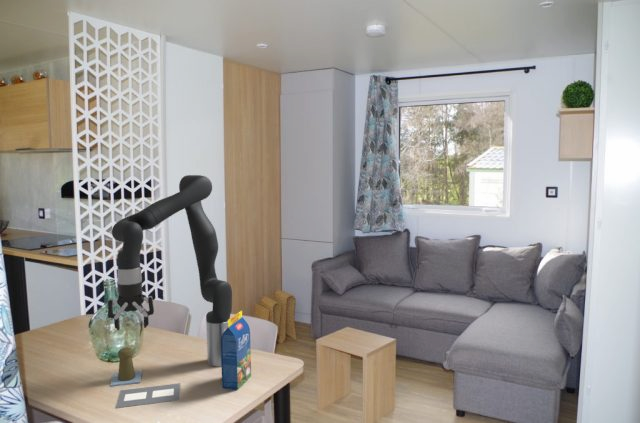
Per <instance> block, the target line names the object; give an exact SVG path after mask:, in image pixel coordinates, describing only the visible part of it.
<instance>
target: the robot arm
mask: <svg viewBox="0 0 640 423" xmlns="http://www.w3.org/2000/svg"><path fill="white" fill-rule="evenodd" d="M178 188H179V191H178V192H176V193H175V194H172V195H169V196H167V197H165V198H161V199H159V200H157V201H155V202H153V203H151V204H149V205H148V206H147V207H146V206H145V207H144V208H143V209H142V210H140V211H138V212H137V213H133V214H131V215H129V216H126V217H124V218H122V219H120V220H119V221H117V222H115V224H114V225H113V226H112V228H111V236H112V237H113V239H114V240H115V241H118V242H120V243H121V242H122V248H121V249H122V250H119V251H118V252H117V254H116V261H117V262H116V263H117V276H116V277H117V278H116V279H117V293H118V295H117V299H113V298H109V299H108V301H107V318H108V319H113V320H114V323H113V324H114V329H115V330H116V331H120V329H121V326H120V325H121V324H120V321H121V320H120V317H121V315H122V313H123V312H125V313H128V312H136V311H138V312H139V313H140V314H142V315H143V327H144V328H143V329H146V328H147V327H149V319H150V318H149V316H152V315H154V312H155V310H154V309H155V307H154V300H153V299H154V298H153V296H152V295H149V296H146V297H145V296H144V295H143V283H142V282H143V277H142V276H143V275H142V268H141V257H140V254H141V251H142V246H143V240H144V232H143V231H146V230H147V231H148V230H151V229H154V227H156V226H158V225H159V224H161V223H162V222H164V221H165V220H167V219H168V218H170V217H172V216H173V215H175V214H177V213H179V212H180V211H182V210H185V214H186V217H187V222H188V225H189V226H188V227H189V231H190V234H191V240H192V245H193V249H194V254H195V258H196V264H197V268H198V276H199V287H200V293H201V296H202V299H203V300H204V301H206V302H208V303H211V304H212V310H211V311H209V312H207V313H206V315H205V322H206V323H205V324H206V327H205V328H206V348H207V349H206V351H207V358H206V359H207V360H206V361H207V364H208V365H209V366H211V367H221V337H222V334H223V333H224V332H225V330H226V329H227V328H228V320H229V319H230V318H231V314H232V310H233V291H232V286H231V284H230V283H229V282H228V281H225V280H221V279H218V277H217V276H218V275H217V273H216V268H215V267H216V265H215V264H216V259H217V256H218V252H219V241H218V236H217V231H216V229H215V227H214V225H213V223H212V222H211V220H210V218H208V215H207V214H206V212H205V211H204V208H203V204H202V201H203V200H206V199H207V198H208V197H210V196H211V193H212V191H213V183H212V181H211V180H210V178H208V177H207V176H205V175H201V174H199V175H198V174H189V175H187V174H186V175H183V177H181V179H180V181H179V184H178ZM144 302H145V303H146V304H147V305H148V309H149V310H147V309H146V308H145V306H144V305H143V303H144ZM116 304H117V305H118V306H119V309H118V310H117V311H116V313H114V306H116Z"/></svg>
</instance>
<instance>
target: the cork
mask: <svg viewBox="0 0 640 423" xmlns="http://www.w3.org/2000/svg"><path fill="white" fill-rule="evenodd" d="M133 355H134V350H133V349H132V347H123V348H120V349H119V350H118V351H117V357H118V358H119V361H118V362H119V363H118V372H117V373H118V380H119V381H128V380H132V379H134V378H135V371H136V370H135V367H134V362H133Z"/></svg>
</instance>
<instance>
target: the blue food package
mask: <svg viewBox="0 0 640 423" xmlns="http://www.w3.org/2000/svg"><path fill="white" fill-rule="evenodd" d="M251 349H252V348H251V328H250V325H249V324H248V322H247V321H246V319H245V318H244V317H243V309H242V310H239V312H237V313H236V314H234V315H233V316H232V317H230V319H229V320H228V328H227V329H226V330H225V332H224V333H223V334H222V337H221V366H220V367H221V388H222V389H226V390H236V391H237V390H239V389H240V388H241V387H243V385H244V384H245V383H246V382H247V381H248V380H249V379H250V377H251V376H252V357H251V356H252V352H251V351H252V350H251Z"/></svg>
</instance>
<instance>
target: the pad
mask: <svg viewBox="0 0 640 423" xmlns="http://www.w3.org/2000/svg"><path fill="white" fill-rule="evenodd" d="M134 371H135V378H134V379H132V380H128V381H119V380H118V372H117V373H113V376H112V379H111V381H110V384H109V386H110V387H117V386H125V385H126V386H127V385H133V384H140V383H141V379H142V375H143V370H134Z"/></svg>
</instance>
